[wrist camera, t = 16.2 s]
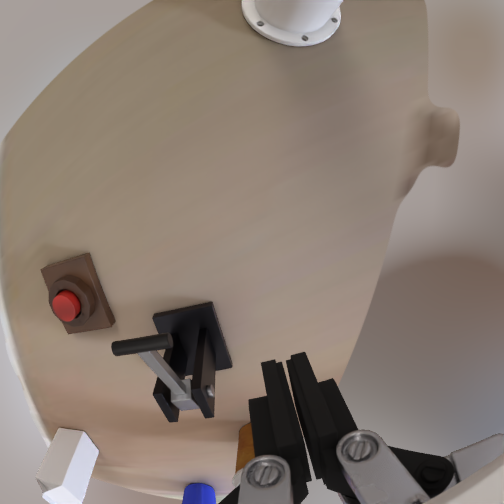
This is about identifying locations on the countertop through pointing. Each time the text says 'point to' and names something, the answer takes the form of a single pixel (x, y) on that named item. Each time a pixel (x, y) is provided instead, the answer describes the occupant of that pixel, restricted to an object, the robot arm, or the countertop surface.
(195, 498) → the mug
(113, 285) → the countertop surface
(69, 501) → the milk carton
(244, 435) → the disposable coffee cup
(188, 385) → the lever
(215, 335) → the black lever base
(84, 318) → the button block
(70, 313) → the button
